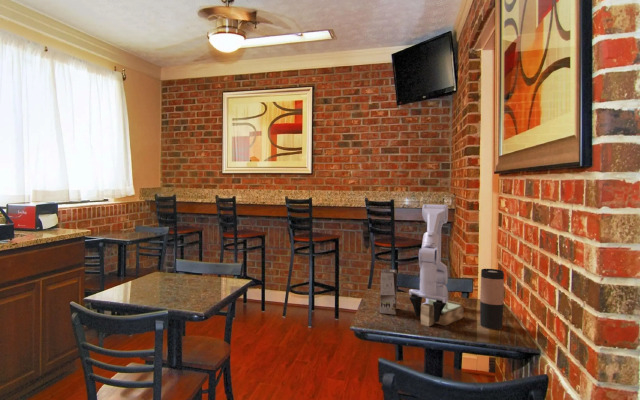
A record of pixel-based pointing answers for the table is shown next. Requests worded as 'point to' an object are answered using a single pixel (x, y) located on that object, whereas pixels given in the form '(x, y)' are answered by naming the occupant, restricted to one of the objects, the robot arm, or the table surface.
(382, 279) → the coffee box
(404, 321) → the table surface
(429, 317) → the wooden block
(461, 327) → the table surface
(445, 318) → the wooden box
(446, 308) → the cabinet door
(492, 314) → the travel mug
